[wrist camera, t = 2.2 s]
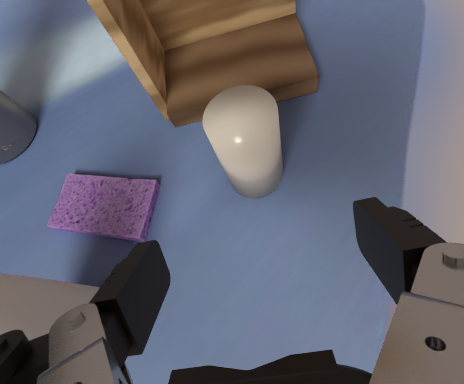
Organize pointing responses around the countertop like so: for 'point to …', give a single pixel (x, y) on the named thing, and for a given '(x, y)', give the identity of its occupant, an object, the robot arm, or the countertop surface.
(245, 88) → the candle
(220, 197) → the countertop surface
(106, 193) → the sponges
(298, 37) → the wooden c-shaped stand
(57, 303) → the milk bottle
